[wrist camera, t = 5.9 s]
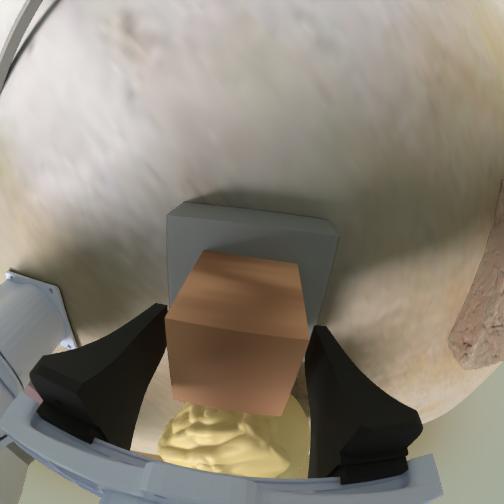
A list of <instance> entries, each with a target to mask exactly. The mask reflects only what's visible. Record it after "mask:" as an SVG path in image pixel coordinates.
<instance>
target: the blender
mask: <svg viewBox="0 0 504 504" xmlns="http://www.w3.org/2000/svg"><path fill="white" fill-rule="evenodd" d="M24 391H25V393H26V394H27V395H28V396H29V397H31V398H33V399H34V400H35V401H37V402H38V403H39V404H40V405H41V403H42V402H43V400H42V398H41V397H40V395H39V394H38V392H37V391H36V389H35V387H34V386H33V384H32V382H31V381H30V382H29V384H28V385H27V386H26V388H25V389H24ZM33 460H35V458H33V457H32V456H30V455H29V454H28V453H26V452H25V451H24V450H22V449H21V448H20V447H19V446H18V445H17V444H16V443H15V442H14V441H13V442H11V443H9V444H7V445H6V446H5V447H4V448H3V449H2V450H1V451H0V504H18V502H19V499H20V497H21V493H22V490H23V485H24V481H25V478H26V473H27V469H28V466H29V464H30V463H31V462H32V461H33Z"/></svg>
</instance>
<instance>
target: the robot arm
mask: <svg viewBox="0 0 504 504" xmlns="http://www.w3.org/2000/svg"><path fill="white" fill-rule="evenodd" d="M5 275H6V279H7V280H6V281H5V282H4V283H2V284H1V285H0V451H1V450H2V449H3V448H4V447H5V446H6V445H7V444H9V443H11V442H13V441H14V442H15V443H16V444H17V445H18V446H19V447H20V448H21V449H22V450H24V451H25V452H26V453H28V454H29V455H30V456H32V457H33V458H35V459H36V460H38V461H39V462H40V463H42V464H44V465H45V466H47V467H48V468H50V469H51V470H53V471H54V472H56V473H57V474H59V475H61V476H62V477H64V478H66V479H67V480H69V481H71V482H72V483H74V484H76V485H78V486H80V487H81V488H83V489H85V490H87V491H89V492H91V493H93V494H95V495H97V496H99V497H101V500H100V502H99V504H428V503H430V502H432V501H434V500H436V499H437V498H439V497H441V496H443V490H442V486H441V482H440V478H439V475H438V471H437V468H436V464H435V461H434V458H433V454H428V455H424V456H421V457H417V458H413V459H411V460H409V461H407V460H406V457H405V456H407V455H408V449H407V447H408V446H409V445H410V444H411V443H412V442H413V441H414V440H415V439H417V438H418V436H419V435H420V434H421V432H422V430H423V426H422V423H421V420H420V417H419V415H418V412H417V411H416V410H414V409H412V408H410V407H408V406H406V405H404V404H402V403H401V402H399V401H397V400H396V399H394V398H393V397H391V396H390V395H388V394H387V393H385V392H384V391H383V390H382V389H380V388H379V387H378V386H377V385H375V384H374V383H373V382H372V381H371V380H370V379H369V378H367V377H366V376H365V375H364V374H363V373H362V372H361V371H360V370H359V369H358V367H357V366H356V365H355V364H354V363H353V362H352V361H351V359H350V358H349V357H348V356H347V354H346V353H345V352H344V350H343V349H342V348H341V346H340V345H339V344H338V342H337V341H336V339H335V338H334V337H333V335H332V334H331V332H330V331H329V329H328V328H327V327H326V326H319V325H314V327H313V330H312V334H311V337H310V341H309V344H308V347H307V350H306V353H305V376H306V383H307V390H308V397H309V405H310V414H311V441H310V461H309V472H308V479H278V478H259V477H247V476H237V475H229V474H222V473H215V472H209V471H204V470H198V469H193V468H189V467H184V466H180V465H175V464H171V463H167V462H163V461H160V460H156V459H153V458H150V457H146V456H143V455H140V454H137V453H133V452H131V451H130V448H131V442H132V438H133V433H134V429H135V425H136V421H137V418H138V414H139V411H140V407H141V404H142V401H143V398H144V395H145V392H146V390H147V387H148V385H149V383H150V381H151V379H152V377H153V375H154V373H155V371H156V369H157V367H158V365H159V363H160V360H161V358H162V356H163V354H164V352H165V349H166V346H167V340H166V329H165V316H166V314H167V313H168V311H167V305H163V304H158V303H155V304H154V305H152V306H151V307H150V308H148V309H147V310H145V311H144V312H143V313H141V314H140V315H138V316H137V317H136V318H134V319H133V320H131V321H130V322H128V323H127V324H125V325H124V326H122V327H120V328H119V329H117V330H116V331H114V332H112V333H111V334H109V335H107V336H105V337H103V338H101V339H99V340H97V341H94V342H92V343H89V344H87V345H84V346H82V347H79V348H78V347H77V344H76V341H75V338H74V336H73V333H72V330H71V327H70V324H69V321H68V317H67V314H66V311H65V307H64V304H63V300H62V297H61V293H60V290H59V288H58V287H57V286H54V285H51V284H48V283H44V282H41V281H38V280H35V279H32V278H28V277H25V276H22V275H19V274H16V273H13V272H11V271H6V272H5ZM58 345H61V346H63V347H66V348H68V349H71V350H69V351H65V352H61V353H55V354H52V352H53V351H54V350H55V349H56V348H57V346H58ZM30 381H31V382H32V384H33V386H34V387H35V389H36V391H37V392H38V394H39V395H40V397H41V398H42V400H43V402H42V403H41V405H40V404H39V403H38V402H37V401H35V400H34V399H33V398H31V397H29V396H28V395H27V394H26V393H25V391H24V389H25V388H26V386H27V385H28V384H29V382H30Z"/></svg>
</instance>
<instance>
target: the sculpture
mask: <svg viewBox="0 0 504 504" xmlns="http://www.w3.org/2000/svg"><path fill="white" fill-rule="evenodd" d="M310 441H311V434H310V427H309V423H308V420H307V417H306V415H305V412H304V410H303V409H302V407H301V405H300V404H299V402H298V401H297V400H296V399H295V397H294V396H293V395H292V394H291V393H290V396H289V398H288V401H287V403H286V406H285V408H284V411H283V413H282V415H281V416H273V415H262V414H253V413H245V412H237V411H230V410H224V409H218V408H212V407H207V406H202V405H196V404H192V403H186V404H185V405H184V406H183V407H182V409H181V410H180V411H179V412H178V414H177V415H176V417H175V418H174V419H171V420H170V421H169V422H168V424H167V425H166V426H165V428H164V433H163V435H162V437H161V439H160V440H159V442H158V452H159V454H160V456H161V457H162V458H163V459H164V462H167V463H171V464H175V465H180V466H184V467H189V468H193V469H198V470H204V471H209V472H215V473H222V474H229V475H237V476H247V477H259V478H278V479H293V478H294V477H295V476H296V475H297V474H298V473H299V471H300V470H301V468H302V467H303V465H304V463H305V461H306V459H307V457H308V453H309V449H310Z"/></svg>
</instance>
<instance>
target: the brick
mask: <svg viewBox="0 0 504 504" xmlns="http://www.w3.org/2000/svg"><path fill="white" fill-rule="evenodd" d="M448 345H449V349H450V350H451V352H452V353H453V356H454V359H455V360H456V361H457V362H458V363H459V365H460V366H461V368H462V369H465V370H469V369H475V370H476V369H478V368H483V367H487V366H490V365H492V364H495V363H498V362H499V361H503V360H504V177H503V180H502V186H501V191H500V193H499V196H498V202H497V207H496V213H495V223H494V224H493V227H492V230H491V232H490V235H489V238H488V242H487V246H486V249H485V253H484V256H483V259H482V260H481V262H480V265H479V268H478V271H477V274H476V276H475V280H474V284H473V285H472V286H471V288H470V291H469V293H468V295H467V298H466V300H465V302H464V304H463V307H462V309H461V311H460V313H459V315H458V317H457V321H456V323H455V325H454V328H453V330H452V332H451V334H450V336H449V341H448Z"/></svg>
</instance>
